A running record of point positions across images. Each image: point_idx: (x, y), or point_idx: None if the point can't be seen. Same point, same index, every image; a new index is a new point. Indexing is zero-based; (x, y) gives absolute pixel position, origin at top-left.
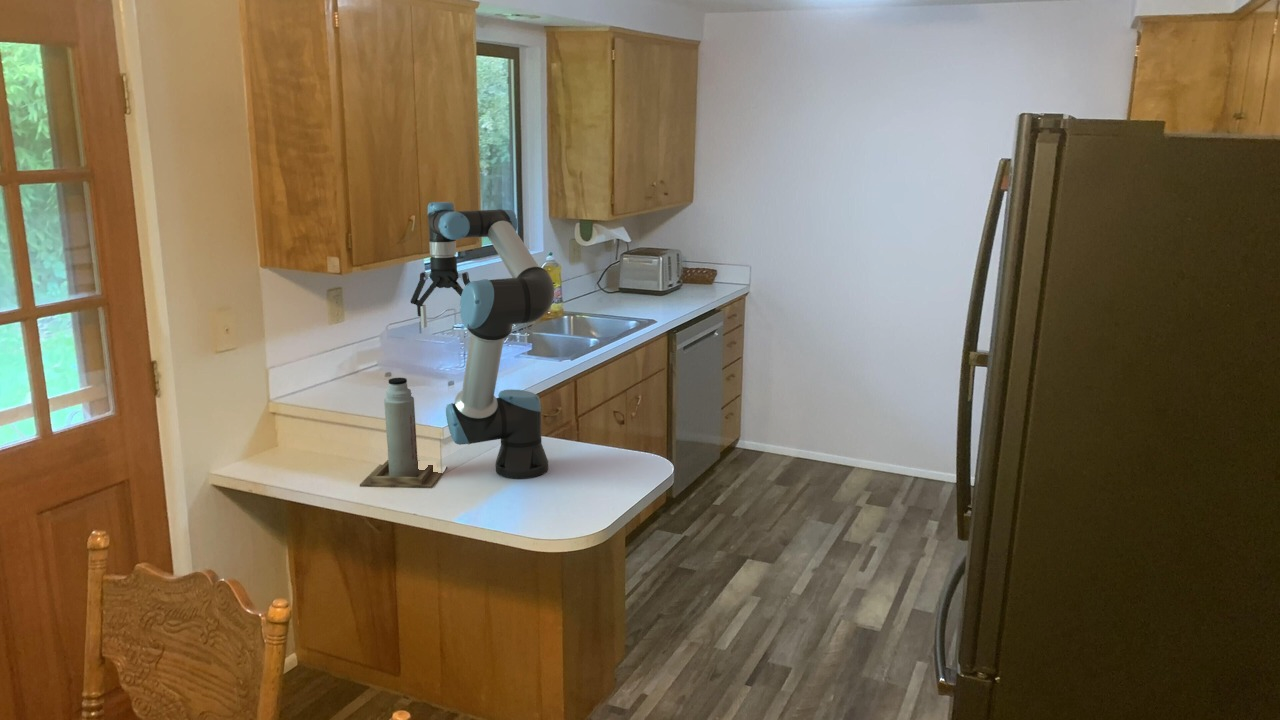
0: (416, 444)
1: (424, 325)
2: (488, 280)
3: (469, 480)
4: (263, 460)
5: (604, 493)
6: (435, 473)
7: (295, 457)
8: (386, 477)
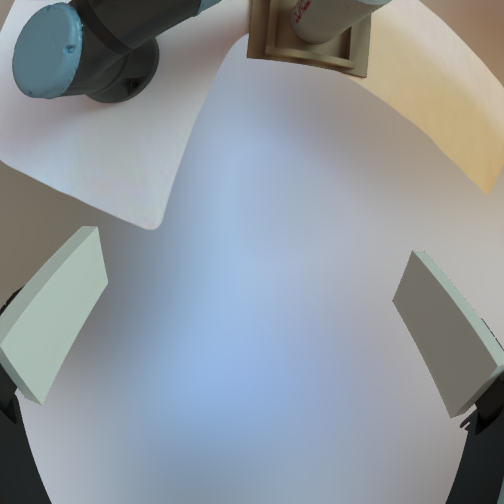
0: (298, 7)
1: (415, 269)
2: None
3: None
4: (496, 144)
5: (27, 19)
6: (260, 25)
7: (472, 147)
8: None
